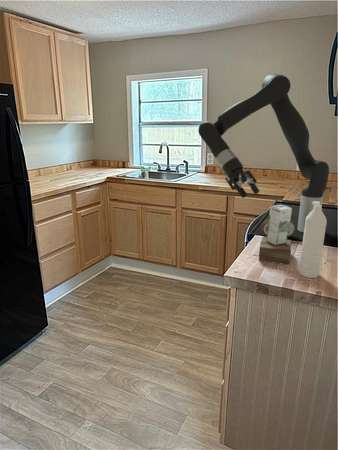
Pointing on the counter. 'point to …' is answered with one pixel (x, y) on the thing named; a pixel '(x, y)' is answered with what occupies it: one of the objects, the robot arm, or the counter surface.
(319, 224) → the water bottle
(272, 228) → the syrup box
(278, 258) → the walnut block
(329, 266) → the counter surface
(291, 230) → the tin
